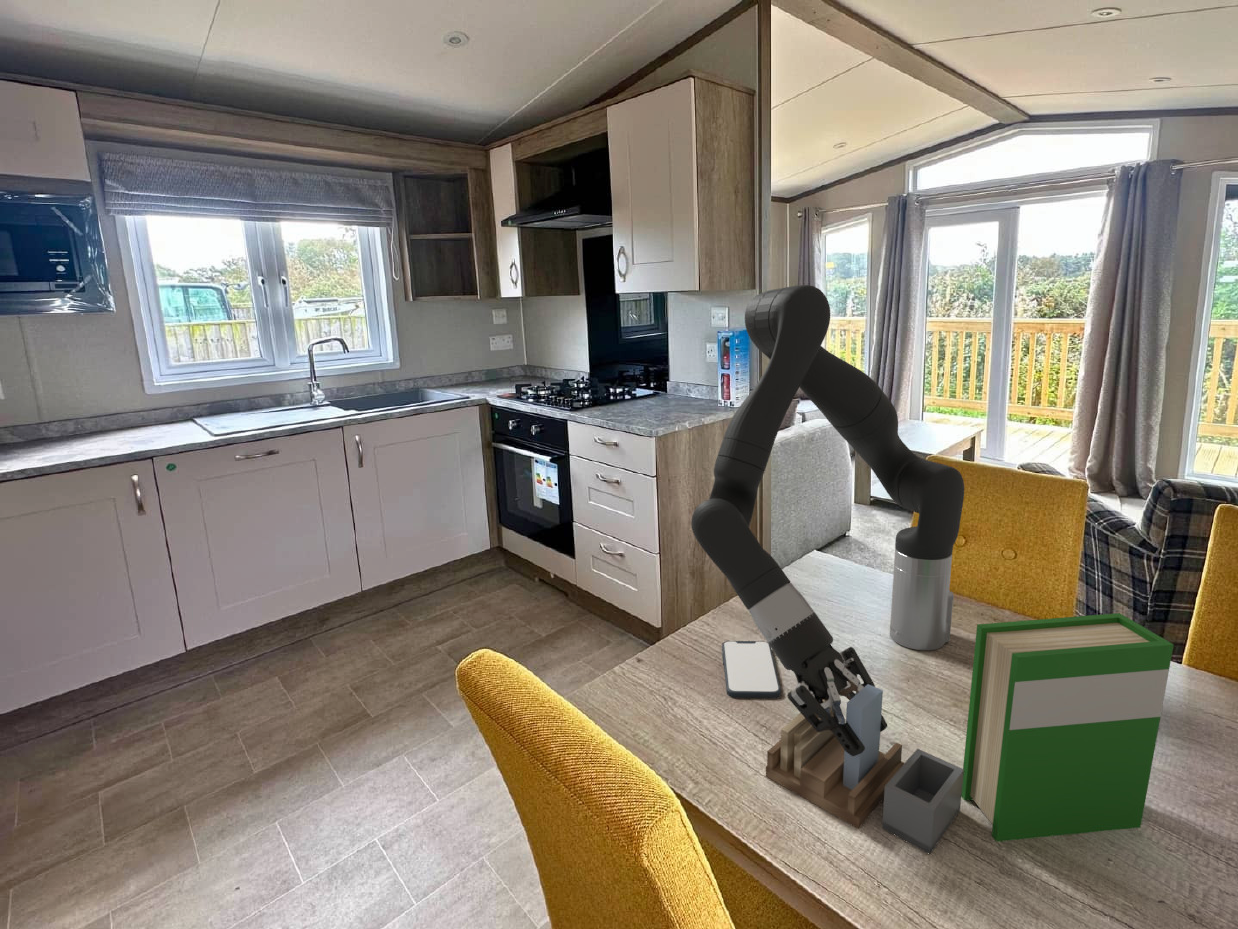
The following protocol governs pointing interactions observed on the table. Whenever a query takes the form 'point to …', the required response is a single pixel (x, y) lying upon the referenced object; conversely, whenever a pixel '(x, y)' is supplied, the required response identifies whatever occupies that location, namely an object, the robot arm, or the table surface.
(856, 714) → the blue-grey rectangular block
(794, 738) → the offcut stack
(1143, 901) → the table surface
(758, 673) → the notched smartphone
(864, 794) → the rack
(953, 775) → the bin
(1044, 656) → the hardback book
